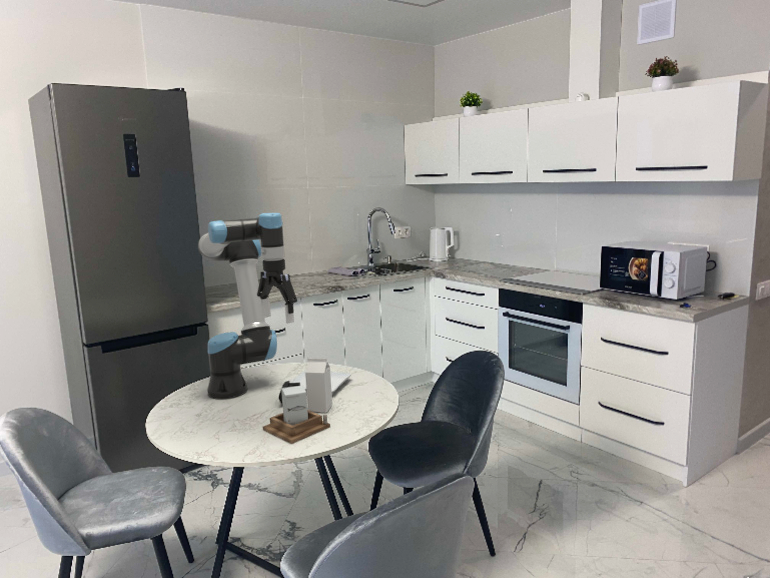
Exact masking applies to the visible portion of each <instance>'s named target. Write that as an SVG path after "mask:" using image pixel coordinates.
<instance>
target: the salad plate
mask: <svg viewBox="0 0 770 578" xmlns="http://www.w3.org/2000/svg"><path fill="white" fill-rule="evenodd" d="M305 371H306V369H304V371H302V372H300V374H298V375H296V376H295V377H294V378H293V379H292V380H291V381H290V383H299V382H300V386H302V385H303V387H304V389H305V391H306V377H305ZM330 374H331V390H332V395H333V394H334V393H335V392H336V391H337V390H338V389H339V388H340V387H341V386H342V385H343V384H344V383H345V382H347V380H348V379H350V378H351V376H352V373H351V372H343V371H342V372H341V371H335V370H334V371H331V370H330ZM306 394H307V391H306Z"/></svg>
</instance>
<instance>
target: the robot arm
mask: <svg viewBox="0 0 770 578" xmlns="http://www.w3.org/2000/svg"><path fill="white" fill-rule="evenodd" d="M283 225H284V224H283V219H282V215H281V213H280V212H263V213H260V214H259V216H257V217H252V218H241V219H240V218H239V219H228V220H227V219H224V220H221V219H218V220H213V221H210V222H209V223H208V226H207V233H204V234H203V235H202V236H201V237H200V238H199V240H198V243H197V249H198V251H199V253H200V255H202V256H203V257H204V258H205V259H208V260H211V261H217V262H225V261H229V262H228V263H229V266H231V268H233V269H234V275H235V280H236V281H235V282H236V287H237V293H238V299H239V305H240V311H241V317H242V323H243V324H242V325H243V326H242V329H240V334H238V333H237V332H235V331H230V332H229V331H228V332H227V331H226V332H223V333H219V334H216V335H214V336H212V337H211V338H209V339H208V342H207V354H208V362H209V374H210V378H209V381H208V385H207V396H208V397H209V398H211V399H215V400H226V399H233V398H238V397H239V396H243V395H244V394H246V392H247V391H248V387H247V382H246V380H245V378H244V375H243V373H242V371H241V370H242V369H241V366H242V365H247V364H253V363H258V362H259V363H260V362H266V361H268V360H273V359H274V358H275V356H276V354H277V349H278V340H277V339H278V338H277V334H276V331H275V330H274V329H271V326H270V324H268V323H267V322H266V319H265V318H269V317H271V316H272V313H271V312H272V311H271V304H270V303H271V302H270V300H271V299H270V293H271V291H272V289H273V287H276V289H278V291H279V292H280V294H281V296H282V299H283V301H285V303H284V313H285V323H286V324H287V325H288V324H292V323H295V317H294V311H295V309H294V304H295V303H297V302H298V298H297V296H296V293H295V290H294V288H293V285H292V281H291V276H290V273H288V274H287V273H286V274H285V273H284V271H285V270H286V260H285V257H286V254H285V244H284V230H283ZM260 257H262V270H263V271H260V273H259V274H260V276H259V277H260V278H259V279H260V280H259V279H258V272H257V271H258V270H257V264H258V262H259V258H260Z"/></svg>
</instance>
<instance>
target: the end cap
mask: <svg viewBox="0 0 770 578" xmlns="http://www.w3.org/2000/svg"><path fill="white" fill-rule="evenodd" d="M290 382H291V381H290V380H286V381H285V382H284V383H283V384H282V386H281V388H280V391H279V393H278V400H279V403H280V404H282V405H283V403H282V390H281V389H282V388H288V387H295V386H300V382H299V383H290Z"/></svg>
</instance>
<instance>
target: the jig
mask: <svg viewBox="0 0 770 578" xmlns="http://www.w3.org/2000/svg"><path fill="white" fill-rule="evenodd" d="M307 411H308V420H306V421H303V422H301V423H298V424H296V425H293V426H292V425H290V424H288V423H285V422H284V417H283V412H281V413H279V414H276V415H273V416H271V417H269V424H266V425H262V430H263V431H264V432H265V433H269V434H270V435H272V436H275V437H277V438H279V439H281V440H282V441H284V442H287V443H290V444H291V445H292V444H295V443H297V442H299V441H302V440H304V439H306V438H308V437H311V436H313V435H315V434H318V433H320V432H323V431H324V430H327V429H329V428H331V423H330V422H328V415H327V414H323V415H321V414H318V413H317V412H312V411H309V410H308V409H307Z"/></svg>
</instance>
